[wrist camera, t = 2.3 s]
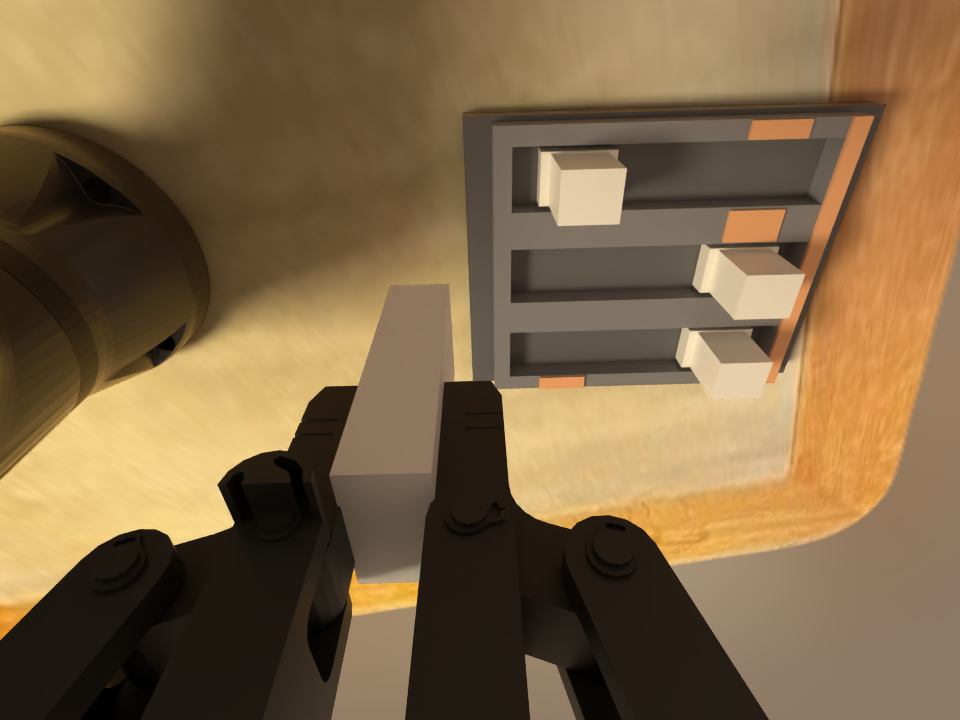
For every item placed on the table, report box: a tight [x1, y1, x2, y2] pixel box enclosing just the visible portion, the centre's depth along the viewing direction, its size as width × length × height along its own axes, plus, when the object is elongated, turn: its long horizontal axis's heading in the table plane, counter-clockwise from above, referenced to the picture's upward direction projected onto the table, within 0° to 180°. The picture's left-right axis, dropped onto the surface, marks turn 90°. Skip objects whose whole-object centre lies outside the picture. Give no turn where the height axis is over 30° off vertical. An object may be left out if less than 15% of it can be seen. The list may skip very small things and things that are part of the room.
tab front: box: [537, 145, 627, 226], centre depth 25 cm, size 4×3×5 cm
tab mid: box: [692, 243, 805, 320], centre depth 28 cm, size 4×3×5 cm
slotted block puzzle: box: [463, 102, 886, 389], centre depth 30 cm, size 22×17×3 cm
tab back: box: [675, 326, 773, 399], centre depth 31 cm, size 4×3×5 cm
